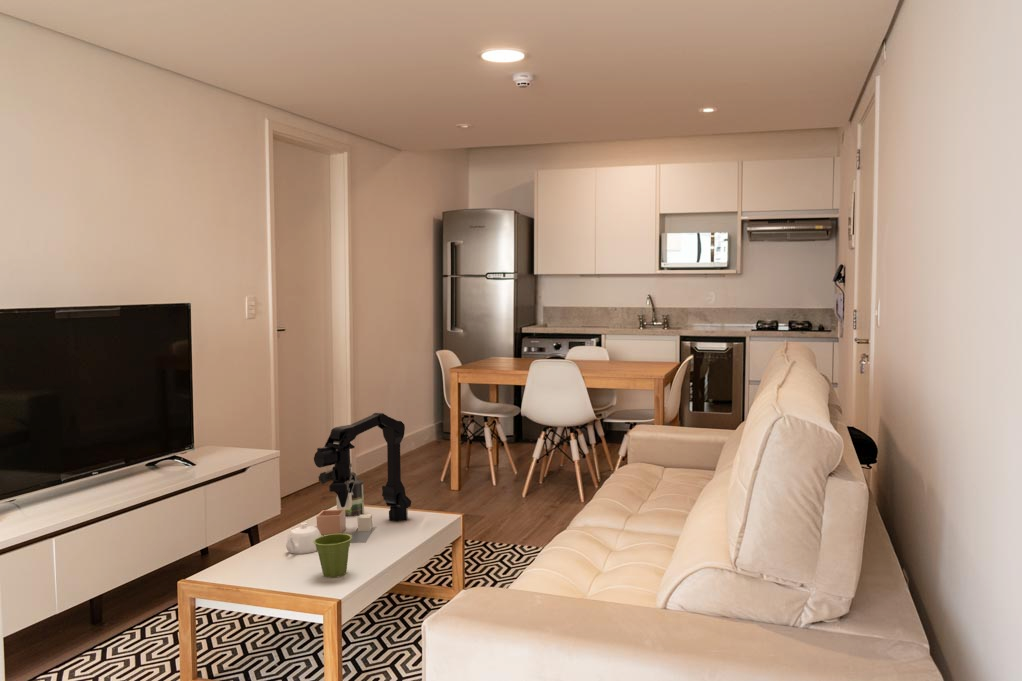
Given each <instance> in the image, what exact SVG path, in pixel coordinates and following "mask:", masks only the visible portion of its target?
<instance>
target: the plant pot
mask: <svg viewBox="0 0 1022 681" xmlns="http://www.w3.org/2000/svg"><path fill="white" fill-rule="evenodd" d="M351 539H352V534H348V533H341V534H330V535H321V537H318V538H316V539H315V540H314V541H313V542H314V544H315V545H316V549H317V551H316V552H317V553H318V558H319V562H320V566H321V570H322V575H323V577H326V578H328V577H329V578H338V577H343V576H344V575H345V574H347V571H348V560H349V553H350V552H349V550H350V545H351V543H350V540H351Z"/></svg>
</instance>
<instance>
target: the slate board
mask: <svg viewBox="0 0 1022 681" xmlns="http://www.w3.org/2000/svg"><path fill="white" fill-rule="evenodd" d="M376 529H377V526H373V528H372V529H371V531H358V527H356V529H355V530H354V531H353V532H352V534H351V536H352V539H351V540H350V544H357V543H358V544H361V543H367V542H368V540H369V539H370V537H371V536H372V534H374V531H375V530H376Z"/></svg>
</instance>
